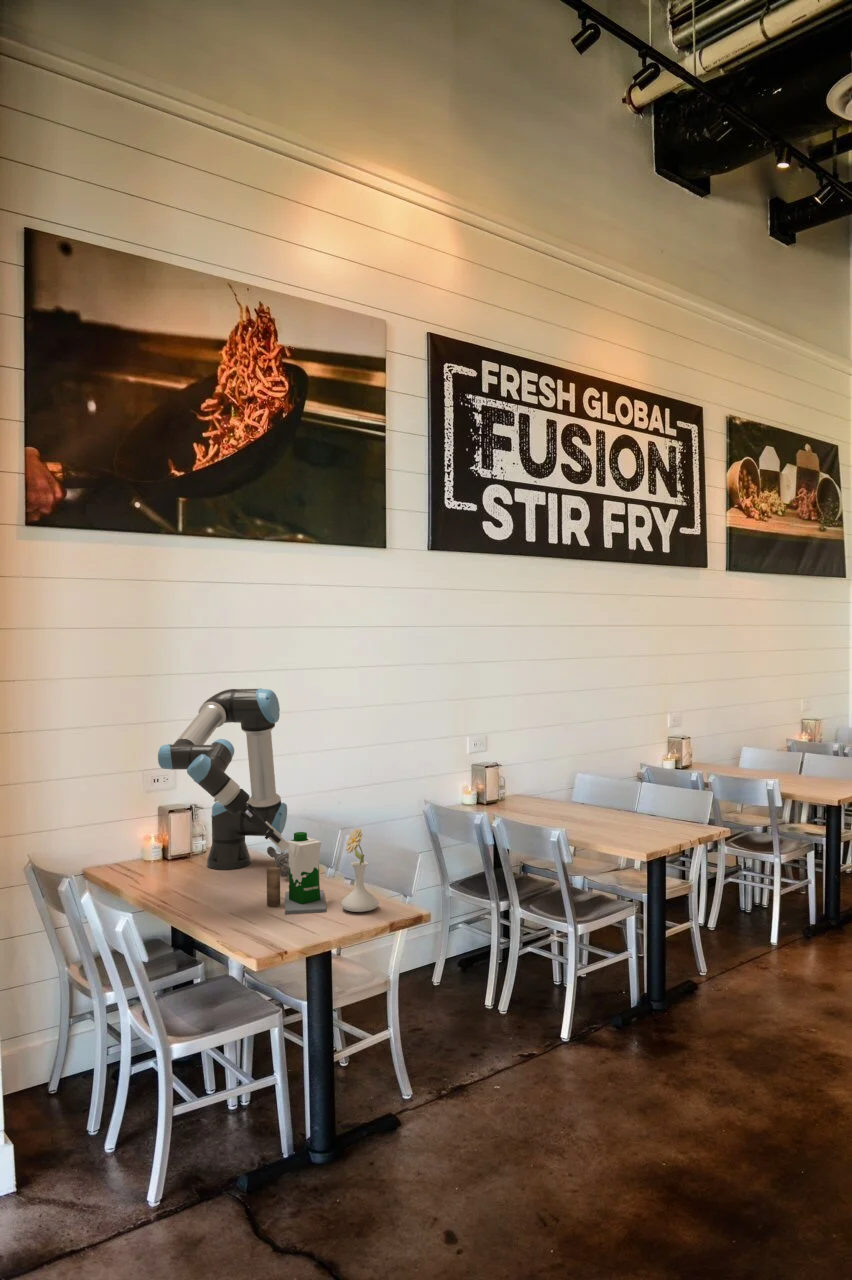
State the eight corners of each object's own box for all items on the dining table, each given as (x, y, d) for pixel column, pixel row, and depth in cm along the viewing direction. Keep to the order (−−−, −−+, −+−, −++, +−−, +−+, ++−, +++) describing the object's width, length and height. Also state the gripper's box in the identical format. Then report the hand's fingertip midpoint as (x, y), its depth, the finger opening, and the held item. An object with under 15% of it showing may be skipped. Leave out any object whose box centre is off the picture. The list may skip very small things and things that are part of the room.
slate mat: (285, 894, 284) (285, 891, 284) (323, 892, 286) (323, 889, 286) (285, 914, 264) (285, 910, 264) (326, 912, 266) (326, 908, 266)
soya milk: (308, 893, 282) (308, 830, 282) (325, 900, 275) (324, 834, 275) (284, 899, 276) (284, 834, 276) (300, 905, 269) (300, 839, 269)
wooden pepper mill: (266, 903, 275) (266, 867, 275) (279, 902, 276) (279, 866, 276) (267, 907, 271) (267, 871, 271) (280, 906, 272) (280, 870, 272)
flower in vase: (341, 904, 274) (340, 822, 274) (378, 903, 275) (378, 821, 275) (340, 917, 261) (339, 831, 261) (379, 916, 262) (378, 830, 262)
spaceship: (281, 840, 325) (262, 835, 321) (320, 872, 295) (299, 866, 291) (272, 861, 324) (253, 856, 320) (310, 895, 294) (290, 890, 290)
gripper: (218, 799, 278) (267, 843, 283) (228, 814, 255) (281, 862, 260) (235, 780, 280) (283, 825, 285) (246, 794, 256) (299, 842, 262)
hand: (282, 843), depth 273 cm, fingers open, 13 cm apart
